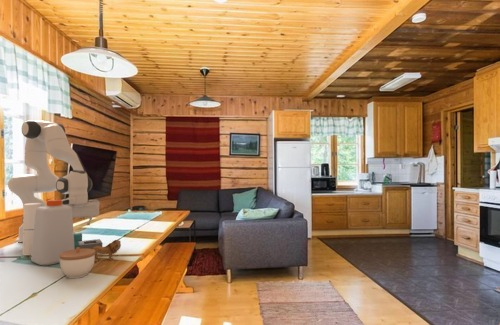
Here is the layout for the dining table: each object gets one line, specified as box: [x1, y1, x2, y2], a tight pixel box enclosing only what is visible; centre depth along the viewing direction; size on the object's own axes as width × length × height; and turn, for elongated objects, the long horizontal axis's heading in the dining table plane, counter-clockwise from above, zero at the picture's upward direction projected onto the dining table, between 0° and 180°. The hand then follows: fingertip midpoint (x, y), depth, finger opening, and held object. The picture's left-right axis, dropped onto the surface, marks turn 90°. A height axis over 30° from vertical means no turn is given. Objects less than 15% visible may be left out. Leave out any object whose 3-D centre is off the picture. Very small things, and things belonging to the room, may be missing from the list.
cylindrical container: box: [22, 203, 41, 256], centre depth 152 cm, size 7×7×25 cm
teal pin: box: [74, 232, 83, 249], centre depth 162 cm, size 4×4×8 cm
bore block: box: [78, 238, 103, 249], centre depth 156 cm, size 10×10×5 cm
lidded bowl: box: [59, 247, 96, 279], centre depth 122 cm, size 13×13×11 cm
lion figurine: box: [93, 239, 122, 263], centre depth 142 cm, size 15×5×9 cm, turn 117°
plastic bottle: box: [30, 199, 75, 266], centre depth 142 cm, size 15×15×28 cm
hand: (78, 226), depth 162 cm, fingers open, 8 cm apart
